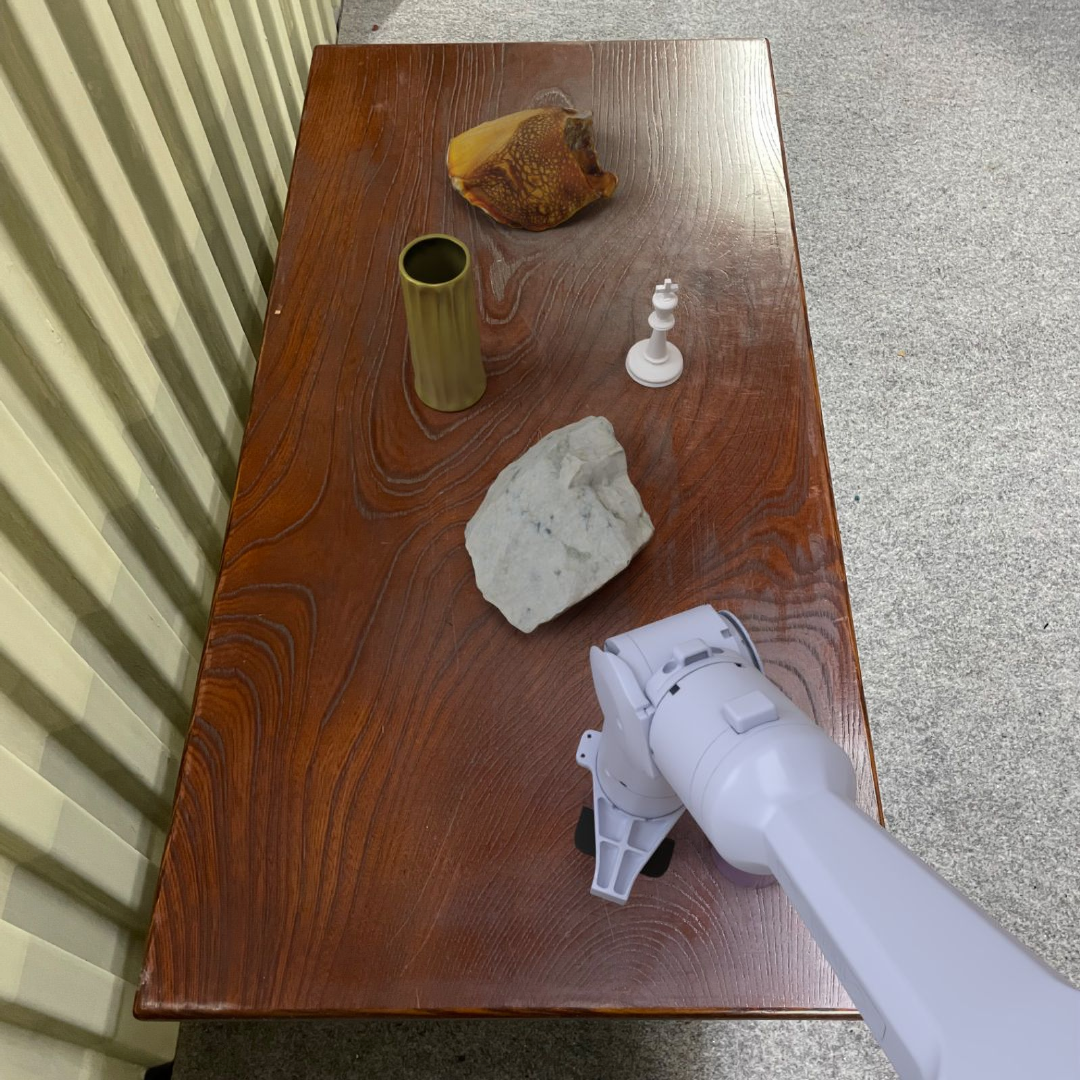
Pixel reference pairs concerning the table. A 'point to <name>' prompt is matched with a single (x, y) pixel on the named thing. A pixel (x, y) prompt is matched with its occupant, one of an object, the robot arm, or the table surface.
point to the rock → (557, 524)
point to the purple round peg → (741, 873)
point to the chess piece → (657, 344)
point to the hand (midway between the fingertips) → (632, 804)
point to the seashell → (530, 166)
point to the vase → (442, 322)
